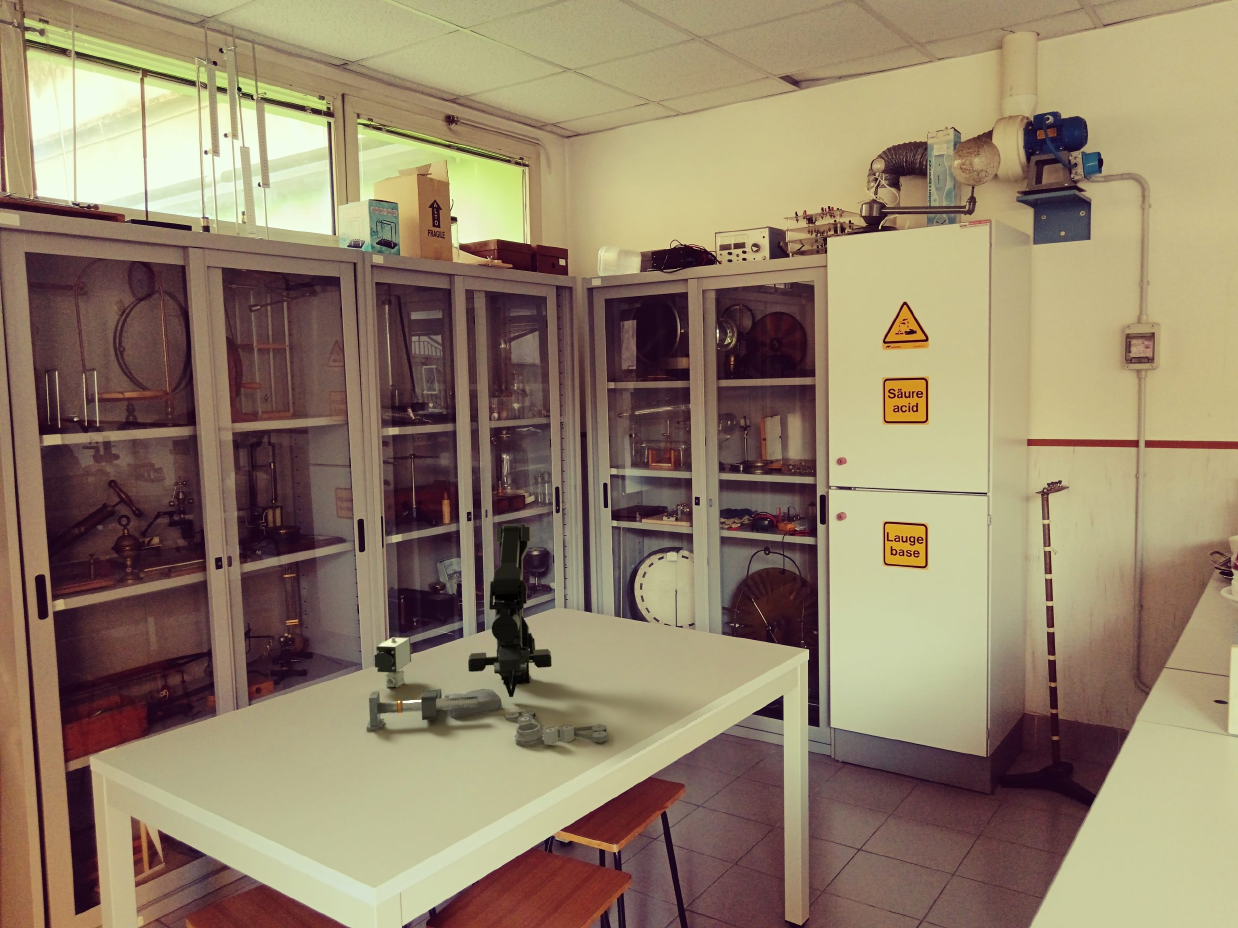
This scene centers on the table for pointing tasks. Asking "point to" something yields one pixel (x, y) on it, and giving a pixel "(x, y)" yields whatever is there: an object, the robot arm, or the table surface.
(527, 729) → the pulley system
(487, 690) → the stone block
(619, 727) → the table surface
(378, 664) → the pneumatic valve
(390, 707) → the linear shaft assembly
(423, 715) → the collar
